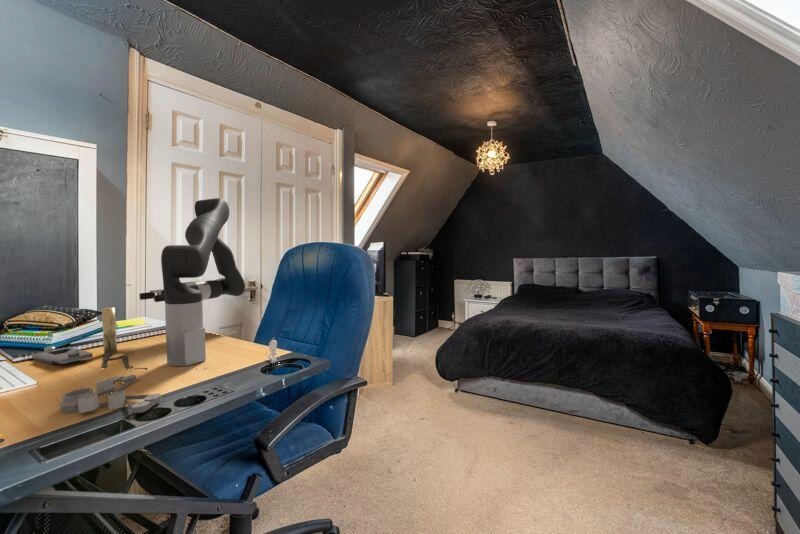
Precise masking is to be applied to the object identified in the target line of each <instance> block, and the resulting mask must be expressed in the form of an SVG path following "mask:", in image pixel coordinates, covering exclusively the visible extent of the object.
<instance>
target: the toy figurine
mask: <svg viewBox="0 0 800 534" xmlns="http://www.w3.org/2000/svg"><path fill="white" fill-rule="evenodd" d="M277 345H278V342H277V340H276V339H275V337H273V339H271V340H270V341H269V342H268V346H269V348H268V349H269V350H270V352H271V353H270V354H269V353H268V352H267V351H266V352H265V355H267V357H268V360H269V361H270V360H271V363H272V362H273V363H274V361H276V362H277V357H278V358H280V355H279V354H278V353H277V347H278V346H277ZM276 356H277V357H276ZM278 365H279V366H280V364H278ZM278 365H277V366H278Z"/></svg>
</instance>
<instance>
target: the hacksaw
mask: <svg viewBox="0 0 800 534" xmlns="http://www.w3.org/2000/svg"><path fill="white" fill-rule="evenodd" d="M129 354H131V352H127V353H126V352H125V353H124V354H122V355H119V356H116V357H112V356H113V355H114V354H112V353H105V354H104V353H103V354H102V357H103V359H102V360H103V361H102V363H101V368H107V369H108V363H109V361H113V360H119V359H122V363H123V366H124V368H125V370H126V369H127V370H128V369H132V368H134V369H133V370H140V369H141V370H142V369H143V370H144V371H142V373H144V372H147V371H148V370H149V368H148V367H140V368H135V367H134V366H133V365H131V366H130V364H129ZM134 354H135V353H134V352H132V355H134ZM140 373H141V371H140V372H139V374H140Z"/></svg>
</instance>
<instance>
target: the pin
mask: <svg viewBox="0 0 800 534" xmlns="http://www.w3.org/2000/svg"><path fill="white" fill-rule="evenodd" d="M101 316H102V317H101V318H102V322H101V323H102V338H103V339H102V340H103V341H102V342H103V354H105V353H112V354H113V355H114V354H117V353H118V344H117V343H118V342H117V341H118V340H117V320H116V317H117V316H116V307H114V306H113V307H112V306H111V307H102V308H101Z"/></svg>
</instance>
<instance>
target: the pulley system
mask: <svg viewBox="0 0 800 534" xmlns="http://www.w3.org/2000/svg"><path fill="white" fill-rule="evenodd" d="M120 379H121V381H120ZM119 381H120V382H123V383H125V384H123V383H122V385H120V386H119V387H117V389H116V388H115V387H114V384H113V383H115V384H117V383H116V382H118V383H120V382H119ZM134 381H135V382H137V374H130V375H125V376H113V377H110V378H106V379H105V380H102V381H99V382H97V383H95V386H96V392H93V391H94V388H93V387H84V388H83V387H82V388H78V389H74V390H71V391H68V392H66V393H63V394H62V397H61V398H62V401H61V402H60V403H59V406H60V411H61V412H62V413H64V414H73V413H74V414H75V413H81V414H83V413H87V412H92V411H94V410H97V409H100V408H101V409H102V408H105V407H108V410H109V411H114V410H113V409H115V410H118V408H119V409H121V408H123V407H125V406H128V408H129V410H130V411H131V412H132V413H133V414H136V413H137V414H143V413H145V412H146V411H148V410H149V409H150V408H152V407H153V406H155V405H156V404H159V403H160V402H161V401H162V397H163V396H162V394H161V393H158V392H157V393H152V394H134V395H125V393H126V392H125V390H124V389H125V387H126V386H127V387H128V385H129V384H130V385H132V384H133V383H135V382H134ZM131 383H132V384H131ZM130 385H129V386H130ZM127 387H126V388H127ZM123 388H124V389H123ZM122 389H123V390H122ZM114 390H115V391H114ZM120 390H121V391H120ZM111 392H112V393H111ZM107 393H109V394H107ZM104 394H106V400H107V399H108V400H107V401H105V402H104V401H103V402H99V398H98V396H99V397H102V396H101V395H103V396H105V395H104ZM133 400H143V401H138V402H135V403H134V404H131V403H130V402H129V401H133ZM96 408H97V409H96Z"/></svg>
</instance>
